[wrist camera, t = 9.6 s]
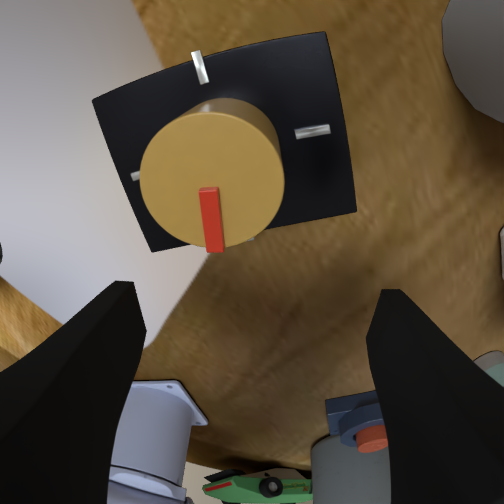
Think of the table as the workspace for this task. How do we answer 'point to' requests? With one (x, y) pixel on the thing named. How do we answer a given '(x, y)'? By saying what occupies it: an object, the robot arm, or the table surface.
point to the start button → (371, 439)
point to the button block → (353, 415)
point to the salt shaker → (0, 253)
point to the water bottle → (349, 474)
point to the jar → (502, 250)
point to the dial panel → (259, 95)
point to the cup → (477, 52)
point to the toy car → (259, 486)
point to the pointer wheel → (214, 174)
